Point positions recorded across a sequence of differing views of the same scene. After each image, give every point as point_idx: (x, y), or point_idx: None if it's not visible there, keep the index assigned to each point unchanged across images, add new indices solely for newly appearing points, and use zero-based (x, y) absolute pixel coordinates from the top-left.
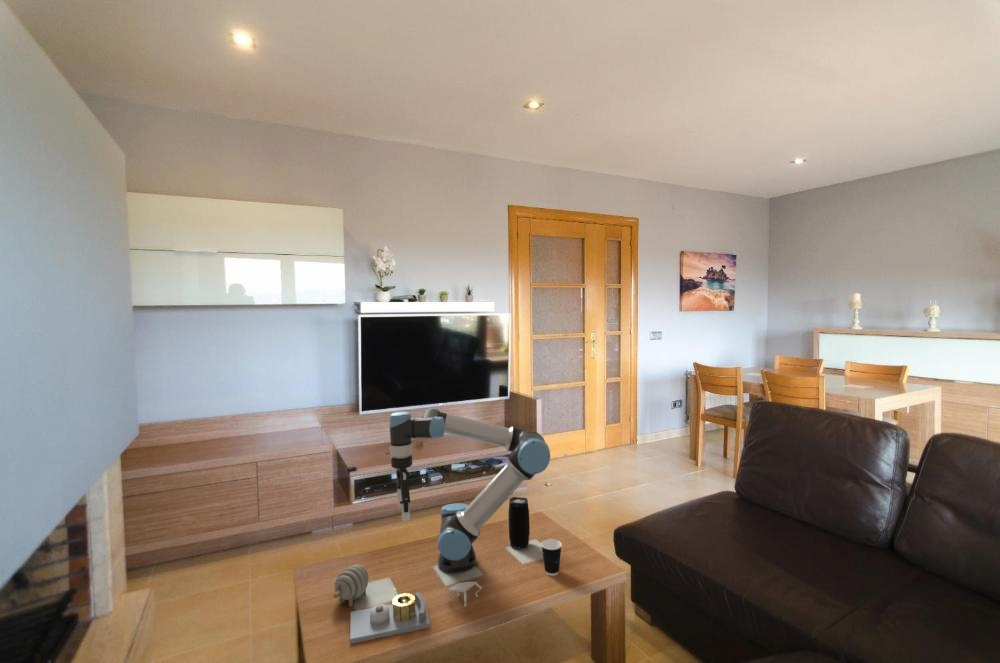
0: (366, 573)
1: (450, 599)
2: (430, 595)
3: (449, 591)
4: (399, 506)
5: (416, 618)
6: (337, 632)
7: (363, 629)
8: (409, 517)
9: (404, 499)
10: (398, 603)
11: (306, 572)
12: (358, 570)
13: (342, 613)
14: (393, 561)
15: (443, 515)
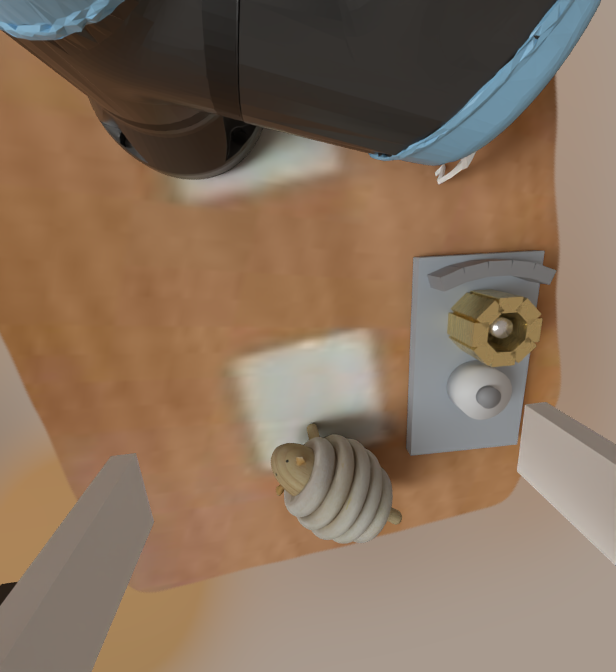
0: (332, 458)
1: (444, 166)
2: (382, 232)
3: (461, 163)
4: (150, 510)
5: (508, 287)
6: (456, 468)
7: (495, 419)
8: (568, 422)
9: (100, 521)
10: (519, 349)
11: (155, 582)
12: (347, 494)
13: (386, 468)
14: (125, 349)
15: (124, 7)
